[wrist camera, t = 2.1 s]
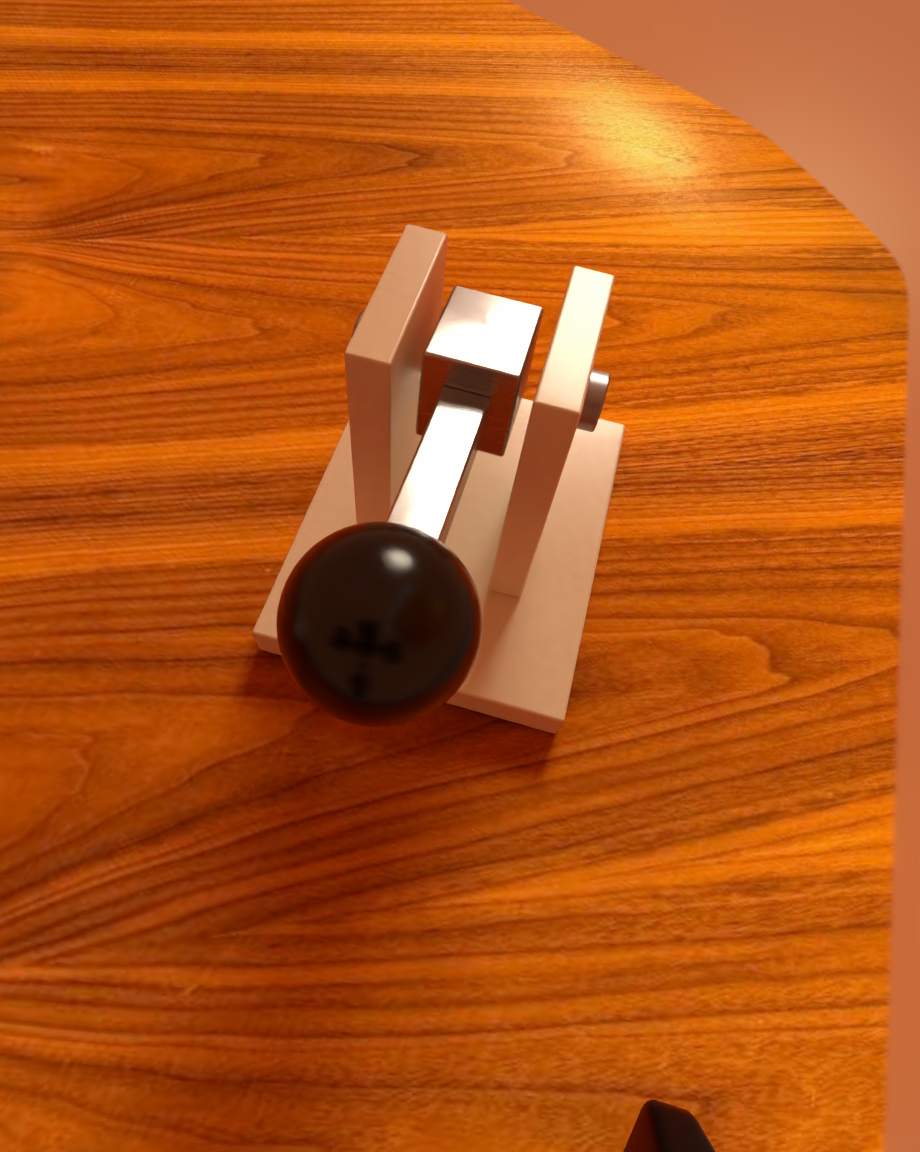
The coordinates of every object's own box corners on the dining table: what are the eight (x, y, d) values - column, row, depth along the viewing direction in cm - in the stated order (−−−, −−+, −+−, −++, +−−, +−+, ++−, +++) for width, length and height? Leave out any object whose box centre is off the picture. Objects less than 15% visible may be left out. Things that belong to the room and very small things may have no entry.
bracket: (555, 735, 21) (656, 579, 13) (257, 649, 22) (179, 448, 14) (616, 446, 27) (715, 209, 19) (376, 383, 27) (370, 125, 19)
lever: (442, 784, 14) (467, 689, 11) (253, 728, 14) (226, 620, 11) (547, 411, 20) (579, 290, 17) (417, 378, 20) (428, 252, 17)
